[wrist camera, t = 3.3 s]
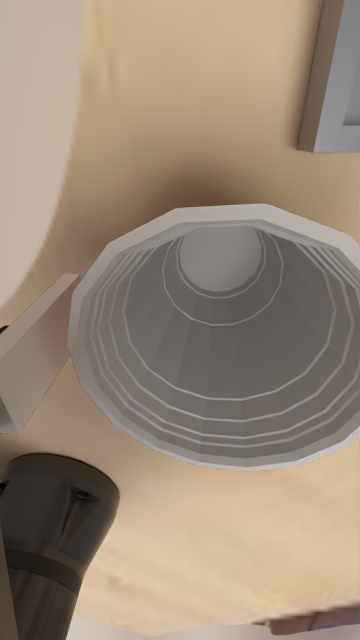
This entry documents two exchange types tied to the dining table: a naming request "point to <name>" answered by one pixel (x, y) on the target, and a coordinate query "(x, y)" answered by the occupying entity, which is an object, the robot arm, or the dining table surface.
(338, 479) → the dining table surface
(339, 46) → the cup tray
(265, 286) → the plastic cup
